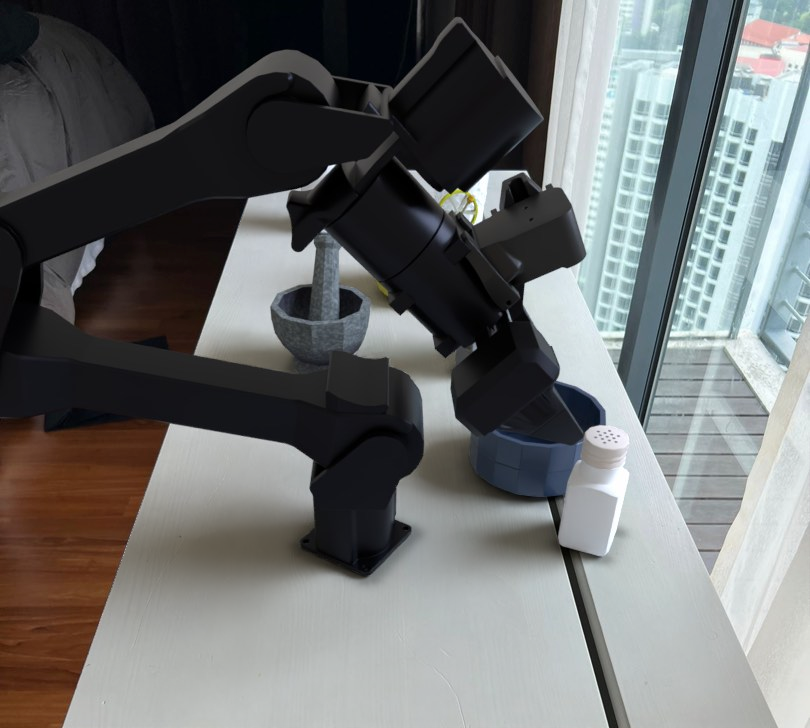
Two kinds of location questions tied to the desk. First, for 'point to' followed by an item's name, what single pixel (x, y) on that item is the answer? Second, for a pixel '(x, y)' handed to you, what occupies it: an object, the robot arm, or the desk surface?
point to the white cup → (479, 194)
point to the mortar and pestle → (320, 313)
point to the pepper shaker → (595, 492)
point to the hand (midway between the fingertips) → (564, 403)
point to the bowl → (535, 451)
